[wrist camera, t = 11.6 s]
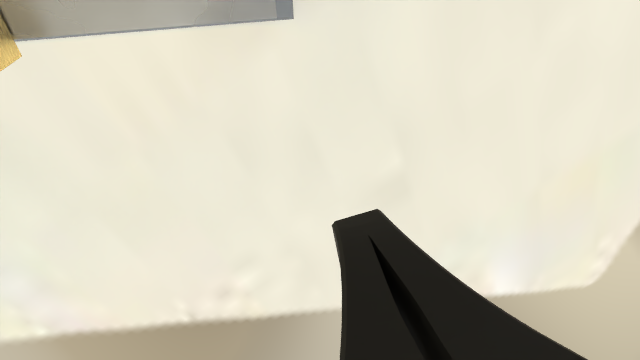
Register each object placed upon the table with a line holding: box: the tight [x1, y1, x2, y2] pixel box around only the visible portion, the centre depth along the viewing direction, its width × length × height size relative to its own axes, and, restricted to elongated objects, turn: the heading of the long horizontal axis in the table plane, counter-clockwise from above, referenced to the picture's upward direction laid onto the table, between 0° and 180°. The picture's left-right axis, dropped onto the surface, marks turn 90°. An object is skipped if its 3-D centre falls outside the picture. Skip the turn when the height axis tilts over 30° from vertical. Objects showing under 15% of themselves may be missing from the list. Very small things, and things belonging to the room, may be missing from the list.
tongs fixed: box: [0, 0, 277, 40], centre depth 12 cm, size 16×2×3 cm, turn 90°
